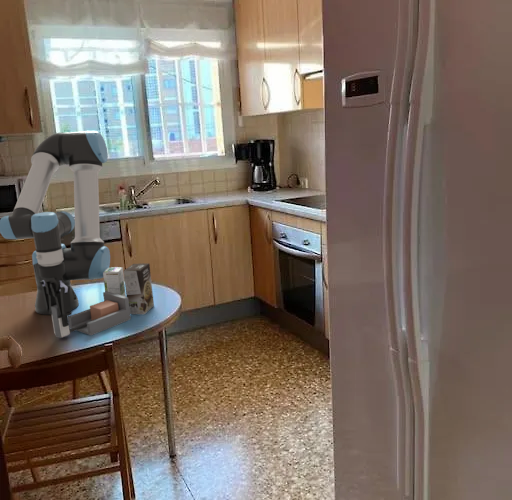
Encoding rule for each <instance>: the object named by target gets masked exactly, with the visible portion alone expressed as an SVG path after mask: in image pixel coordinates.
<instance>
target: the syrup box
mask: <svg viewBox="0 0 512 500" xmlns="http://www.w3.org/2000/svg"><path fill="white" fill-rule="evenodd" d="M103 285H104V292H106V291H107V292H111V293H114V294H118V295H122V296H126V288H125V279H124V267H120V266H119V267H118V266H114V267H112V266H111V267H109V268H107V269H106V270H105V271H104V272H103Z"/></svg>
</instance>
